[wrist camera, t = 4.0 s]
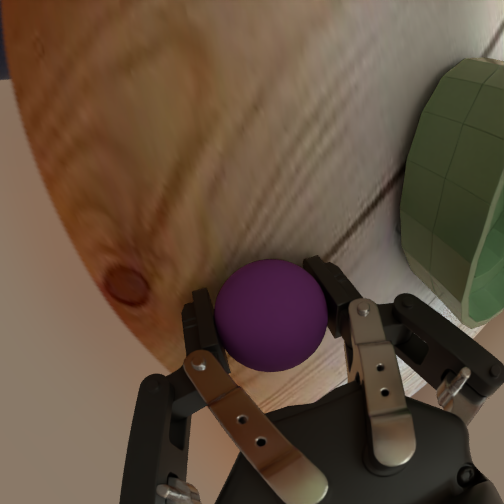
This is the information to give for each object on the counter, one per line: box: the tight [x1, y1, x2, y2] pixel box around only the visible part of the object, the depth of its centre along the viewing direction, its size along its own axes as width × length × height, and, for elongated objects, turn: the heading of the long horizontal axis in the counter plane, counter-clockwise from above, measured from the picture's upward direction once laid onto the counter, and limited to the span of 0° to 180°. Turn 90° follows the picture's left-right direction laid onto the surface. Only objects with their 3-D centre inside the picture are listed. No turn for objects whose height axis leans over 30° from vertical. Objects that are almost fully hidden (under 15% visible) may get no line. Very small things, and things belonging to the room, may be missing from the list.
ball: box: [214, 259, 328, 372], centre depth 12 cm, size 5×5×5 cm
